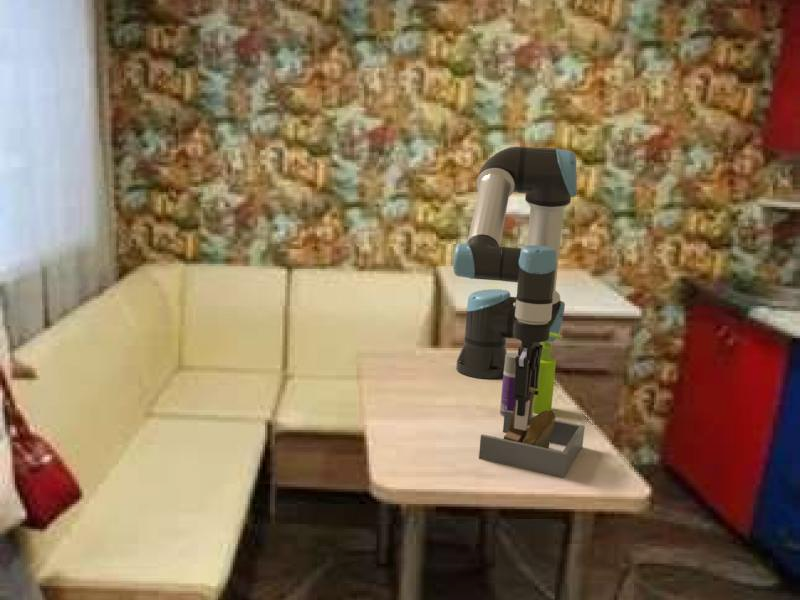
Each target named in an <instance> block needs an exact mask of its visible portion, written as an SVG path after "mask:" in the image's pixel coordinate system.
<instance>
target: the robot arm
mask: <svg viewBox="0 0 800 600" xmlns="http://www.w3.org/2000/svg"><path fill="white" fill-rule="evenodd" d="M576 155H577V154H576V153H575V152H574V151H573V150H569V149H560V148H558V147H556V148H553V147H552V148H551V147H550V148H548V147H525V146H524V147H523V146H511V147H508V148H504V149H502V150H500V151H498V152H496V153H495V154H493V155H492V156H491V157H490V158H489V159H488V160H487V161H485V163H484V164H483V165H482V167H481V168H480V170H479V172H478V175H477V179H476V183H475V184H476V190H477V192H478V193H477V197H476V202H475V206H474V211H473V215H472V219H471V224H470V227H469V228H470V229H469V232H468V237H467V242H465V243H458V244H457V245H456V246H455V248H454V253H453V262H452V263H453V264H452V265H453V273H454V274H455V276H456V277H461V278H467V279H470V280H487V281H501V282H509V283H510V282H511V283H517V286H516V287H517V288H516V296H511V292H510V291H509V290H507V289H499V288H497V289H496V288H495V289H491V288H490V289H482V290H477V291H474V292H472V293H470V294H469V296H468V298H467V304H466V305H467V306H466V308H465V309H466V317H465V318H466V319H465V329H464V330H465V331H464V341H463V345H462V348H461V350H460V352H459V355H458V357H457V359H456V366H455V367H456V370H457V372H459V373H460V374H463V375H464V376H468V377H472V378H478V379H488V380H489V379H501V378H503V373H504V365H505V356H506V354H507V353H508V352H507V349H506V341H507V339H516V340H518V341H520V342H521V344H520V346H519V347H518V351H517V353H518V355H519V356H516V358H515V363H516V370H515V386H514V396H513V397H512V399H514V400H516V409H515V421H514V428H515V429H520V430H525V431H526V430H527V425H530V423H531V422H530V421H531V419H532V415H533V414H534V413H533V404H534V398H533V402H532V407H531V411H530V415H529V420H528V414H529V403H530V401H529V391H530V387H532V388H536V389H537V388H538V377H539V369H540V360H541V353H542V349H543V345H541V344H542V342H545V341H547V340H548V339H549V334H550V332H552V333H556V334H559V335H560V331H561V328H562V323H563V319H564V318H563V317H564V314H565V307H566V304H565V303H566V302H564V301H562V300H561V294H560V293H559V292H558V290H556V287H557V278H558V277H557V276H558V269H559V259H560V257H559V256H560V251H561V249H560V248H561V240H562V239H561V238H562V229H563V221H564V211H565V210H564V209H565V208H566V207H568V206H569V205H570V204H571V200H572V198H574V197H577V196H578V175H577V173H578V172H577V156H576ZM514 193H519V194H525V197H524V200H525V202H526V203H527V204H528V205H529V218H528V219H529V221H528V232H527V243H526V245H524V246H523V247H520V248H519V247H506V246H501V243H502V238H503V233H504V225H505V220H506V215H507V209H508V204H509V197H511V196H512V194H514ZM556 340H558V339H557V338H554V337H550V340H549V343H552V342H554V341H556ZM538 392H539V391H535V393H534V395H538ZM533 416H534V415H533Z"/></svg>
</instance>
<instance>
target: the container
mask: <svg viewBox="0 0 800 600" xmlns="http://www.w3.org/2000/svg"><path fill="white" fill-rule="evenodd" d="M516 356H519V355H518V352H507V354H506V356H505V365H504V373H503V377H502V383H501V384H502V387H501V397H500V399H501V400H500V409H499V410H500V411H499V414H500V415H501V416H502V417H504V414H505V411H506V410H508V411H513V410H514V406H515V401H516V400H514V399H512V397H513V396H514V386H515V370H516V363H515V358H516Z"/></svg>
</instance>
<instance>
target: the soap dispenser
mask: <svg viewBox="0 0 800 600" xmlns="http://www.w3.org/2000/svg"><path fill="white" fill-rule="evenodd" d="M550 337H554V338H557V339H556V340H561V339H563V337H564V336H563V335H561V334H560V333H559V334H556V333H552V332H550V334H549V339H548V340H547V341H545V342H541V343H540V344H541V345H543V349H542V353H541V360H540V369H539V377H538V388H537V389H535V391H539V392H538V395H534V404H533V414H536V415H538V414H540V413H541V412H543V411H550V410H551V411H552V407H553V406H552V405H553V396H554V387H555V376H556V366H557V360H556V359H555V358H553V357H552V353H553V345H551V344H550V342H549V340H550Z"/></svg>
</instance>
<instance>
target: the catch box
mask: <svg viewBox="0 0 800 600" xmlns="http://www.w3.org/2000/svg"><path fill="white" fill-rule="evenodd" d="M512 415H513V411H508V410H506V411H505V414H504V416H503V425H502V426H503V427H502V432H503V433H506V434H507V433H508V431H509V428H510V424H511V419H512ZM535 416H536V415H532V418H534V417H535ZM529 426H530V425H529ZM585 427H586V425H582V424H578V423H574V422H573V423H572V422H567V421H562V420H557V419H555V423H554V427H553V430H552V434H551V436H550V443H553V444H559V445H563V446H565V448H564V449H563V451H561V450H558V449H557V450H556V449H552V448H543V447H539V446H534V445H529V444H525V443H520V442H516V441H511V440H506V439H504V438H500V437H498V436H497V437H496V436H491V435H487V434H481V435H480V440H479V441H480V442H479V453H478V458H479V459H481V460H485V461H488V462H489V461H490V462H494V463H498V464H502V465H506V466H511V467H515V468H520V469H524V470H529V471H533V472H537V473H542V474H545V475H546V474H547V475H551V476H555V477H558V478H559V477H560V478H565V477H566V475H567V473H568V471H569V470H570V468H571V467H572V465H573V464H574V461H575V460H576V459H577V457H578V455H579V453H580V452H581V450H582V449H583V444H584V437H585Z"/></svg>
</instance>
